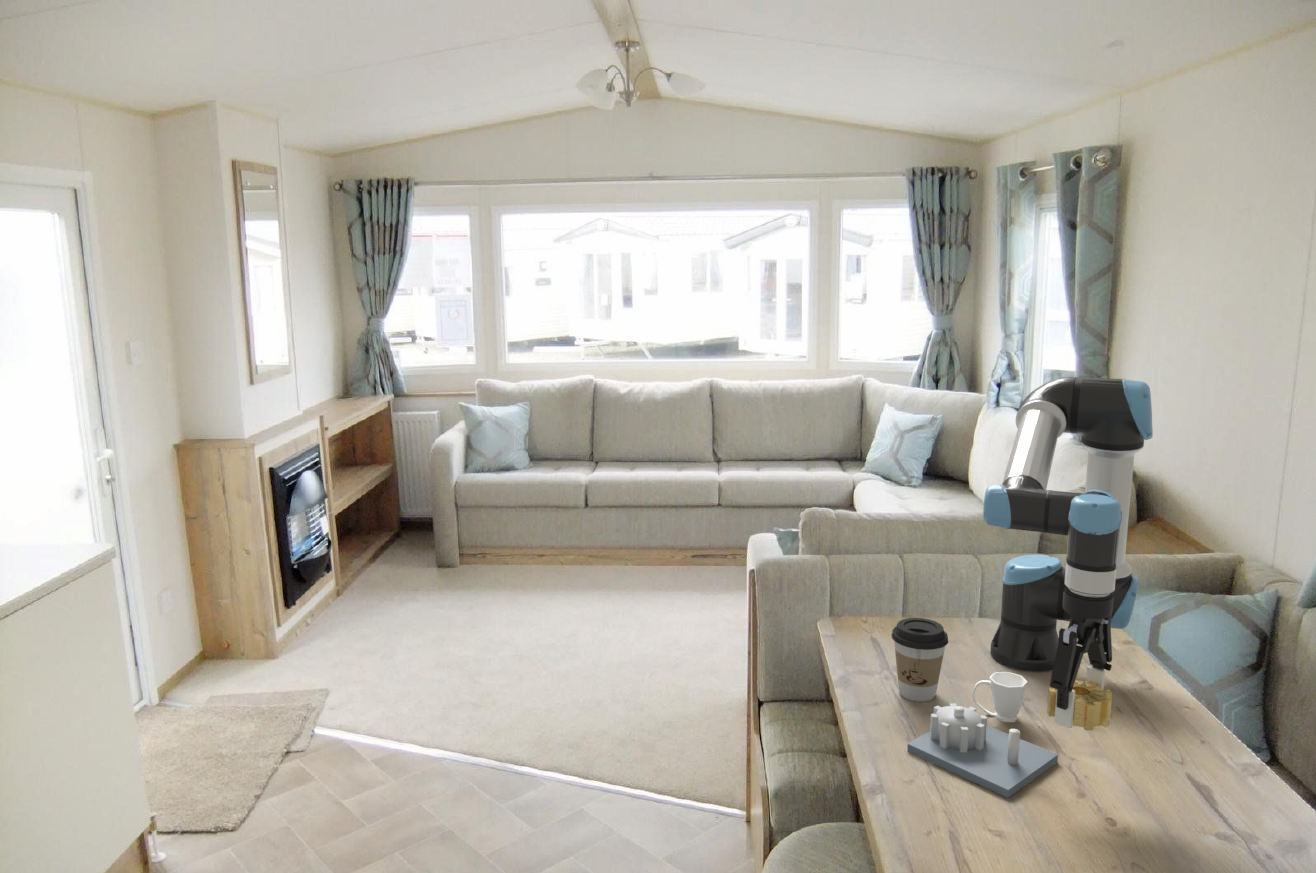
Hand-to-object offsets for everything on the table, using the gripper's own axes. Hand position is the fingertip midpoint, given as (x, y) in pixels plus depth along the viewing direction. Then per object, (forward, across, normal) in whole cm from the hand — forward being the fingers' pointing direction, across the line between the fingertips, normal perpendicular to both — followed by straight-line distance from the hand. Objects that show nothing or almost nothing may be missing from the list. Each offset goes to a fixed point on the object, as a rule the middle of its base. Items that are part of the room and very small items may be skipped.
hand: (1078, 713), depth 158 cm
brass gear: (0, 0, 0) cm, 0 cm away
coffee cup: (+14, -9, -37) cm, 41 cm away
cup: (+14, -13, -21) cm, 29 cm away
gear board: (+13, +3, -16) cm, 21 cm away
